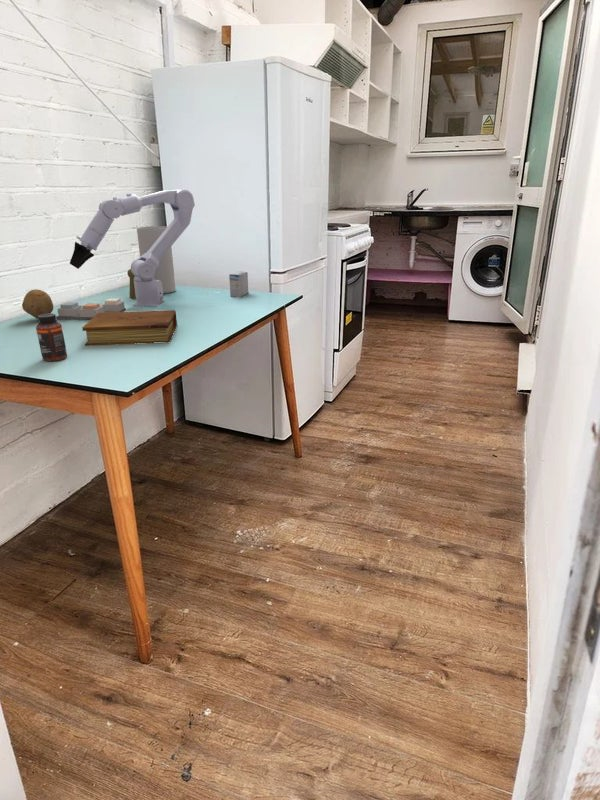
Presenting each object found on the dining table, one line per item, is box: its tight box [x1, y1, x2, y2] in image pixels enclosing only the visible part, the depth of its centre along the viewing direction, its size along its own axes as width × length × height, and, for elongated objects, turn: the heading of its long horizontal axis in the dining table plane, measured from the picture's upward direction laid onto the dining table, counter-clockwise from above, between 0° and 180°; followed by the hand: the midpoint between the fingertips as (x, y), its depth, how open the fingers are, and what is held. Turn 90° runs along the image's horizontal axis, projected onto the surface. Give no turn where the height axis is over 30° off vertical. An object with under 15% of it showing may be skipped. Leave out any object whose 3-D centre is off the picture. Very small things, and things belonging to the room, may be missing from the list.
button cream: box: [104, 298, 122, 304], centre depth 184 cm, size 4×4×2 cm
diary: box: [81, 309, 178, 347], centre depth 157 cm, size 23×19×6 cm
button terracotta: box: [82, 302, 101, 310], centre depth 177 cm, size 4×4×2 cm
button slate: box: [59, 301, 79, 309], centre depth 179 cm, size 4×4×2 cm
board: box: [56, 300, 127, 321], centre depth 182 cm, size 18×14×3 cm
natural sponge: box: [21, 288, 54, 320], centre depth 174 cm, size 9×9×10 cm
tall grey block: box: [136, 225, 176, 294], centre depth 215 cm, size 12×12×25 cm
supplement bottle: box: [35, 312, 68, 362], centre depth 135 cm, size 6×6×11 cm
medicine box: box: [228, 270, 249, 298], centre depth 210 cm, size 8×4×9 cm, turn 162°
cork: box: [127, 268, 136, 300], centre depth 207 cm, size 6×6×11 cm
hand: (73, 266), depth 180 cm, fingers open, 7 cm apart
